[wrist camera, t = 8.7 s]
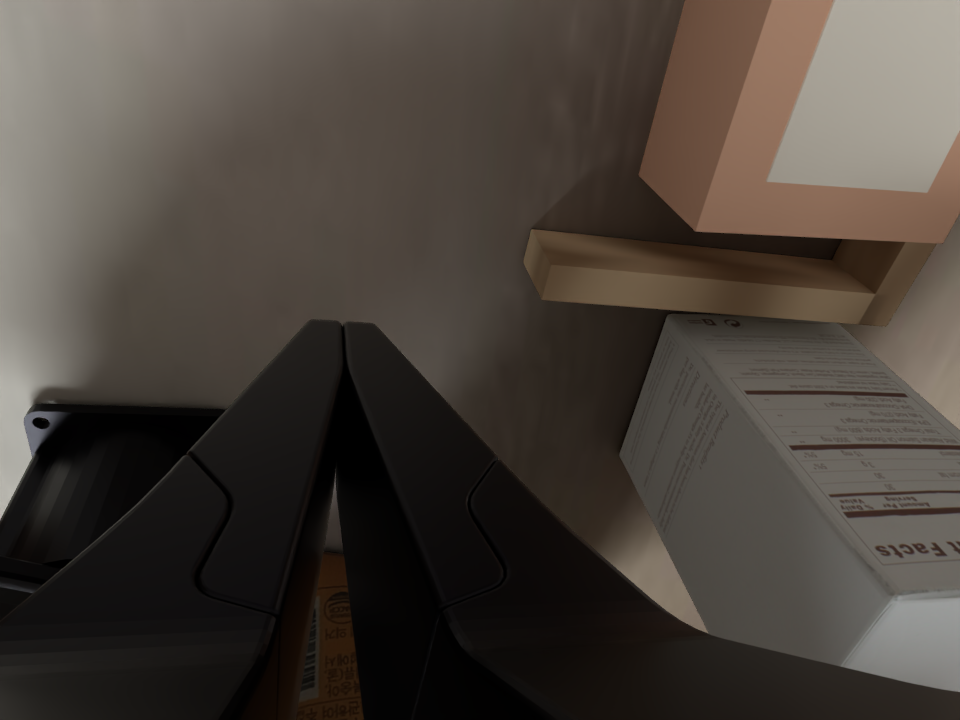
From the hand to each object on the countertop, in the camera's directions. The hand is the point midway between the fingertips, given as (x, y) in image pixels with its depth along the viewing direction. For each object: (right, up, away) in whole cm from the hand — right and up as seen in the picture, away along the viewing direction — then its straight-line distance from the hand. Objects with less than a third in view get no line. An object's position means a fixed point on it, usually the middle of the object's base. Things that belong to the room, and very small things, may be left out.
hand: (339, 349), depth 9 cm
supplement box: (+12, -1, +19) cm, 22 cm away
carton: (+11, +10, +11) cm, 19 cm away
